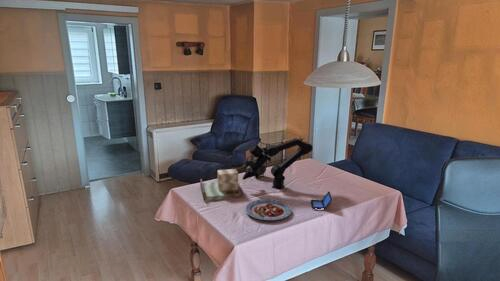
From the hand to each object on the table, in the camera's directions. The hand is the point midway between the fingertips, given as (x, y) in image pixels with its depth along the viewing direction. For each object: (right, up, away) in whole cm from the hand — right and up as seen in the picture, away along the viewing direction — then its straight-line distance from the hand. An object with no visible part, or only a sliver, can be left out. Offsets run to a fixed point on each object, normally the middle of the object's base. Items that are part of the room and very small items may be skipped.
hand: (243, 179), depth 208 cm
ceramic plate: (+15, -16, -27) cm, 34 cm away
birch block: (-10, -5, -1) cm, 11 cm away
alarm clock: (+11, -1, +26) cm, 29 cm away
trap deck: (-14, -8, -1) cm, 16 cm away
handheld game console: (+46, -14, -19) cm, 52 cm away
